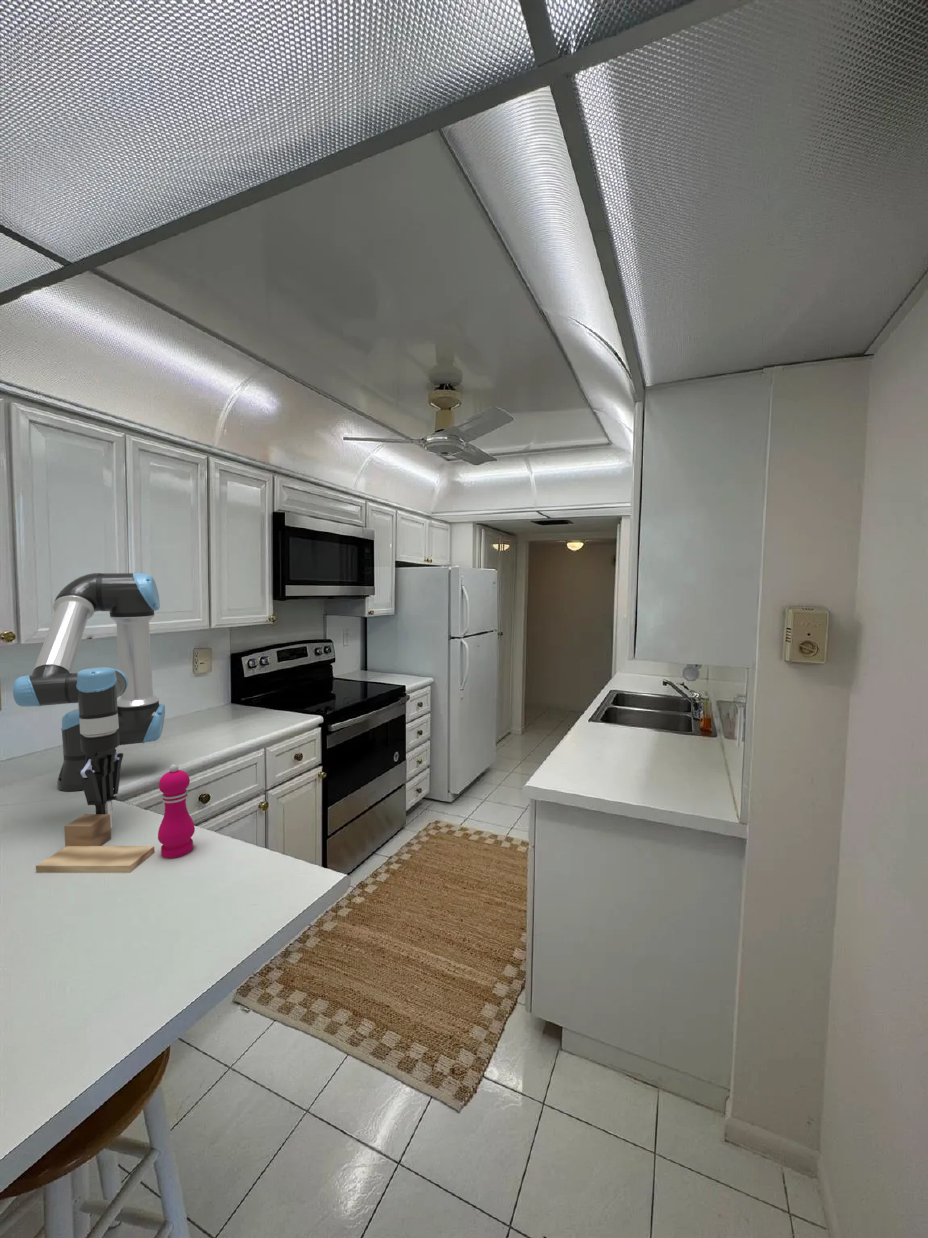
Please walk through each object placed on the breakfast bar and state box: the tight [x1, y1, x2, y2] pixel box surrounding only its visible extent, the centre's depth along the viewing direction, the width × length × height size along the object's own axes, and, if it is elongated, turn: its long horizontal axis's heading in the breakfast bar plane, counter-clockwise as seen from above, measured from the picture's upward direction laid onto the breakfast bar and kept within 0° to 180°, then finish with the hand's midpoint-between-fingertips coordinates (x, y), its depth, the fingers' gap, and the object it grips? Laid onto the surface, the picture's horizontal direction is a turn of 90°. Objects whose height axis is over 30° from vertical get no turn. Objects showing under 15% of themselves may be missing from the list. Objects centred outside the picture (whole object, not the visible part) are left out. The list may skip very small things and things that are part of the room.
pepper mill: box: [157, 763, 196, 859], centre depth 111 cm, size 7×7×20 cm
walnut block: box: [63, 813, 112, 848], centre depth 115 cm, size 6×6×6 cm
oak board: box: [35, 845, 156, 873], centre depth 108 cm, size 8×20×2 cm, turn 89°
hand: (105, 828), depth 120 cm, fingers closed
